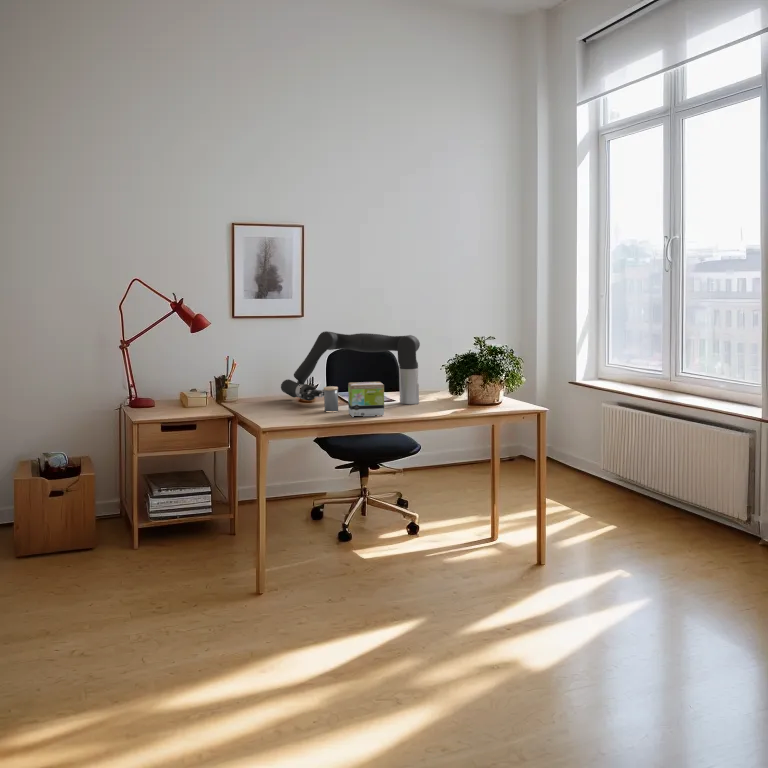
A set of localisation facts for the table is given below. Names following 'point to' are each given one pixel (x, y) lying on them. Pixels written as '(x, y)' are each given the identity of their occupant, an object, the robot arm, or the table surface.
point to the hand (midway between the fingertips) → (321, 395)
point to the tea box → (365, 399)
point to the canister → (331, 398)
